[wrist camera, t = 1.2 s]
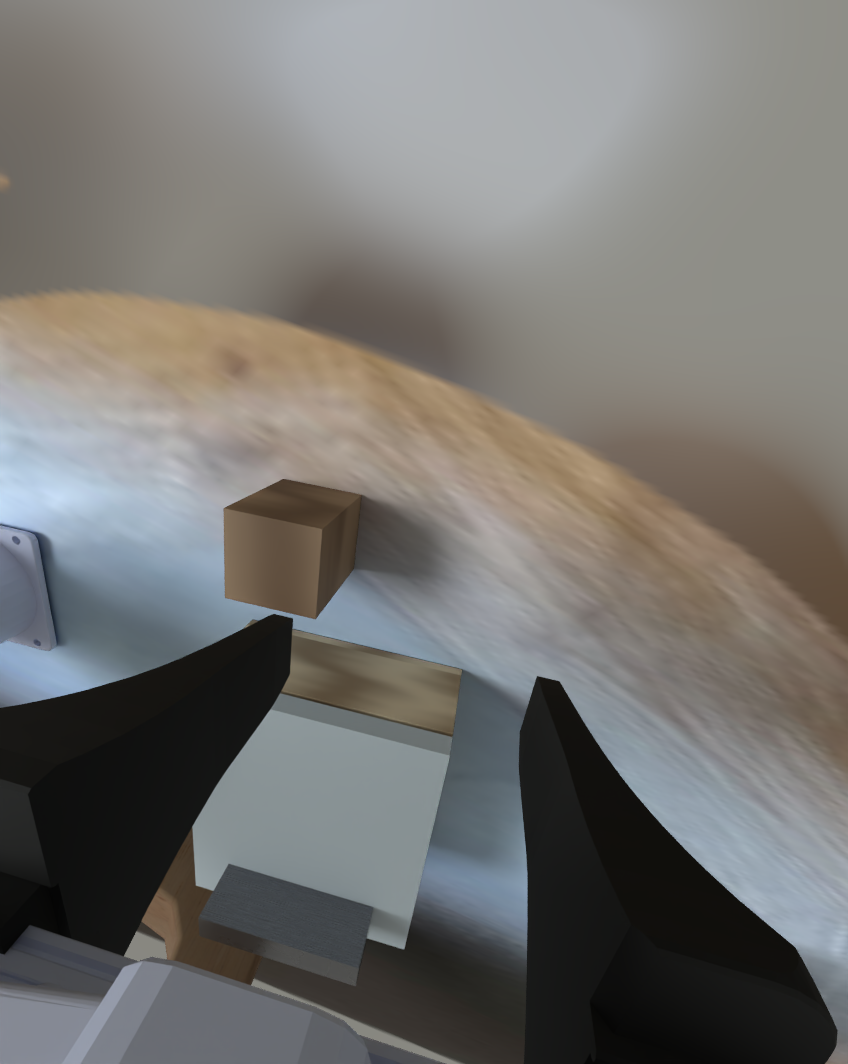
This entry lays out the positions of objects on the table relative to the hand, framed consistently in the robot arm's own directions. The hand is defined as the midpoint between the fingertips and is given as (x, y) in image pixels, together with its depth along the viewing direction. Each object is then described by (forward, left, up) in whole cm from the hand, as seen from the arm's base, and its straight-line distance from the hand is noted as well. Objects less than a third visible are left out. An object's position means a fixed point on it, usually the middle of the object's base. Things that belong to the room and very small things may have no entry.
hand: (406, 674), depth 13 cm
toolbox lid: (-4, -14, -5) cm, 15 cm away
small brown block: (-7, 0, -10) cm, 12 cm away
